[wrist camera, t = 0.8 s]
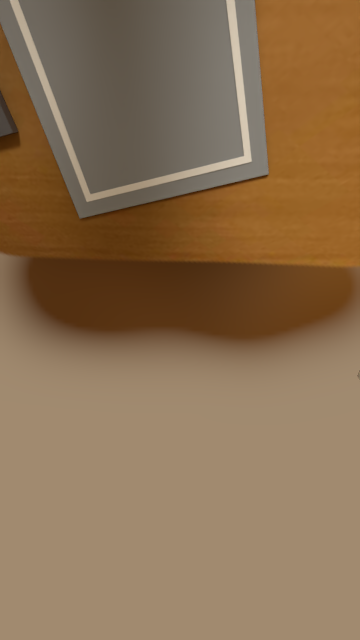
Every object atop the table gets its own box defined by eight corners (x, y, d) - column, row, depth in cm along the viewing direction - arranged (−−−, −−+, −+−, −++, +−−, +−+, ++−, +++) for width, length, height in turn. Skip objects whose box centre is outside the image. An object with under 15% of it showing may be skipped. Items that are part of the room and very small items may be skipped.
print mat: (-24, -42, 23) (-27, -44, 23) (241, -152, 20) (242, -156, 20) (80, 217, 34) (79, 218, 33) (268, 173, 30) (268, 174, 30)
